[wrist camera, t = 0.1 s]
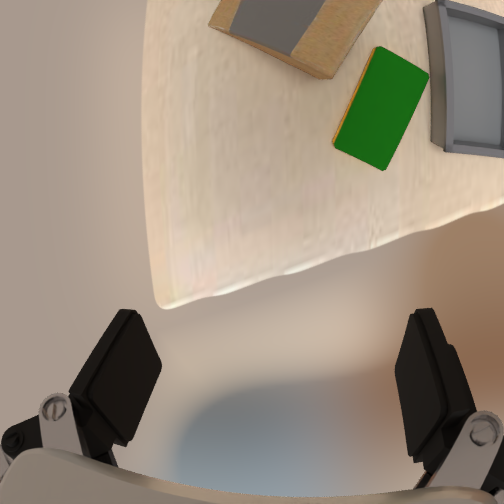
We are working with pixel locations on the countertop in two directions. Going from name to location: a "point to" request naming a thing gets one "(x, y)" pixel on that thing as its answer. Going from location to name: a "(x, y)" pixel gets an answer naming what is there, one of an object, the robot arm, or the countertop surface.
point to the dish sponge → (380, 108)
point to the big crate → (466, 78)
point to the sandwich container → (297, 29)
